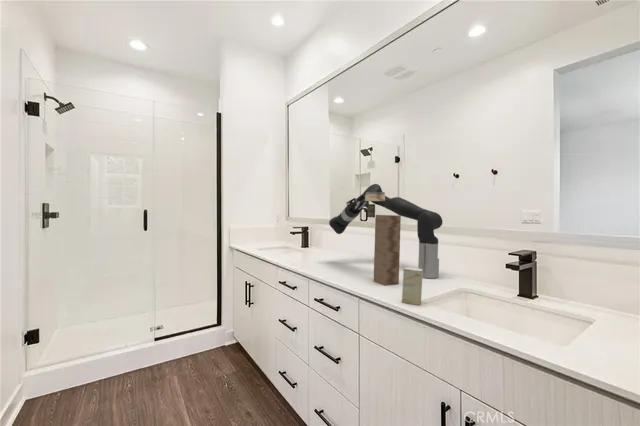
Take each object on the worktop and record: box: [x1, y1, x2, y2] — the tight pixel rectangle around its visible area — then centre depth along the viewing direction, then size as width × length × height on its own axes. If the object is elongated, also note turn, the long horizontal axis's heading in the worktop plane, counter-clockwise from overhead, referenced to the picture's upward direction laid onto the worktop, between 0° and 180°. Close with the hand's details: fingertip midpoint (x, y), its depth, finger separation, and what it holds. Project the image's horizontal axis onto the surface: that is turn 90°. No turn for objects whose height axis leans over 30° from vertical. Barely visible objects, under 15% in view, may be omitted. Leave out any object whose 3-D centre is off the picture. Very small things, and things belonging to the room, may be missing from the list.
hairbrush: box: [357, 191, 386, 202], centre depth 146 cm, size 6×16×4 cm, turn 26°
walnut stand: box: [373, 214, 402, 287], centre depth 133 cm, size 8×8×31 cm
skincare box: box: [401, 266, 423, 306], centre depth 105 cm, size 6×4×12 cm
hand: (366, 195), depth 149 cm, fingers closed on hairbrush, 2 cm apart
